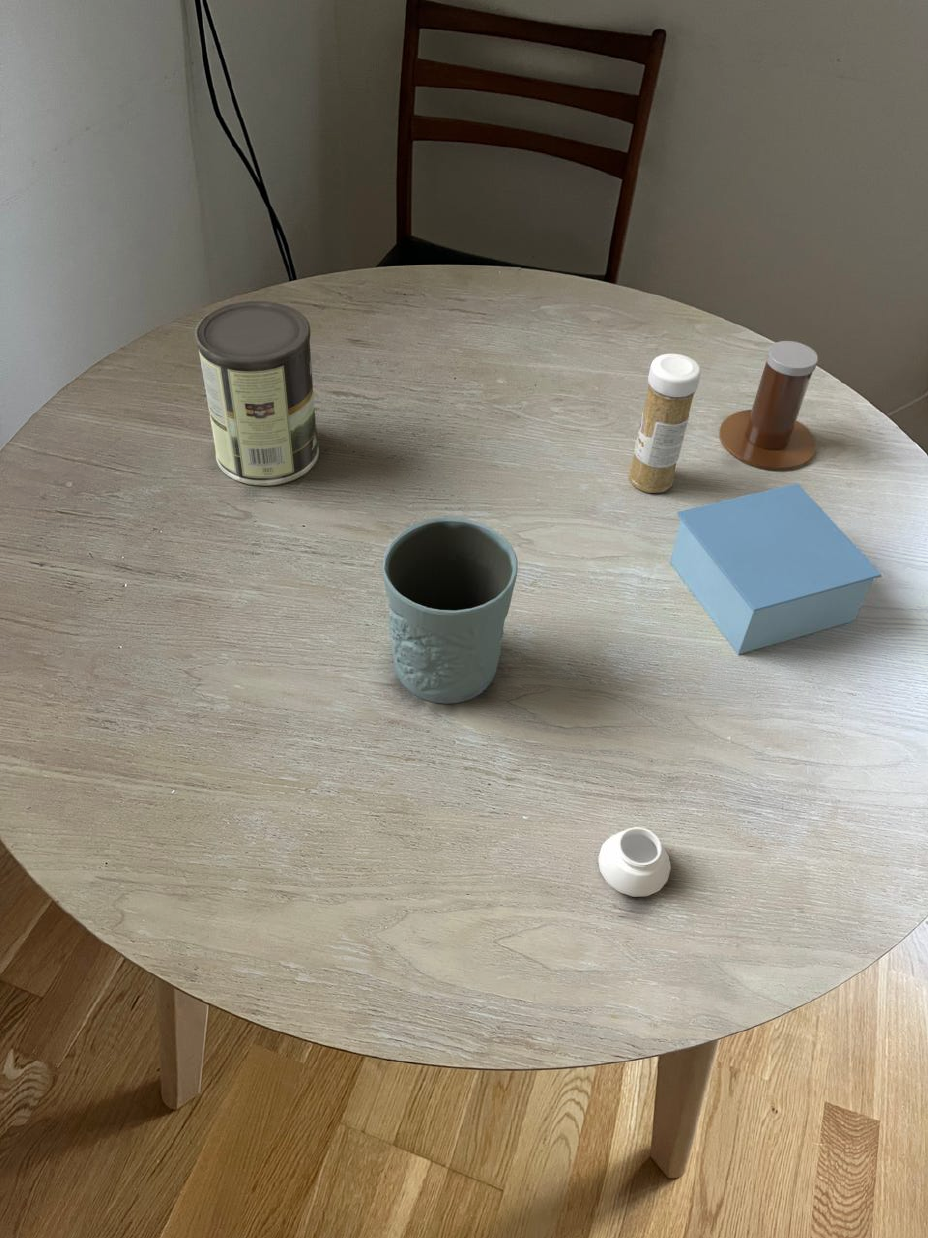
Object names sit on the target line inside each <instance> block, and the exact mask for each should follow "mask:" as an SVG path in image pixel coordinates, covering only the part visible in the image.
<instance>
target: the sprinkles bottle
mask: <svg viewBox="0 0 928 1238" xmlns="http://www.w3.org/2000/svg"><path fill="white" fill-rule="evenodd" d="M701 373H702V371H701V367H700V365H699V363H698V362H696V361H695V360H694V359H693V358H691V357H689V356H686V355H684V354H680V353H665V354H664V353H663V354H660V355H658V356H657V357H655V358H654V359H653V360H652V361H651V364H650V368H649V373H648V376H647V382H648V387H647V393H646V398H645V401H644V406H643V409H642V414H641V418H640V423H639V427H638V431H637V437H636V441H635V445H634V453H633V457H632V462H631V467H630V469H629V471H628V480H629V482H630V483H631V485H632V486H633V487H634V488H636V489H637V490H639V491H642V492H645V493H650V494H659V493H665V492H666V491H668V490H669V489H670V488H671V487H672V486H673V484H674V474H675V471H676V467H677V462H678V461H679V457H680V454H681V450H682V446H683V442H684V439H685V434H686V430H687V426H688V422H689V419H690V412H691V409H692V408H691V407H692V403H693V399H694V396H695V393H696V391H697V389H698V388H699V387H698V386H699V383H700V379H701V375H702V374H701Z"/></svg>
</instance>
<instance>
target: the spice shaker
mask: <svg viewBox="0 0 928 1238" xmlns="http://www.w3.org/2000/svg"><path fill="white" fill-rule="evenodd" d="M765 359H766V361H765V363H764V367H763V371H762V374H761V378H760V381H759V384H758V388H757V391H756V395H755V398H754V401H753V405H752V407H751V410H752V411H751V414H750V418H749V421H748V424H747V428H746V431H745V435H746V437H747V439H748V440H749V441H750V442H751V443H752V444H754V445H755V446H757V447H760V448H763V449H768V450H777V449H782V448H784V447H785V446H787V445H788V443H789V441H790V438H791V435H792V432H793V429H794V426H795V423H796V420H797V421H798V417H799V414H800V412H801V408H802V405H803V402H804V400H805V396H806V394H807V393H806V392H807V391H808V388H809V384H810V381H811V378H812V376H813V372H814V371H815V370H816V367H817V364H818V361H819V356H818V354H817V352H816V351H815V350H814V349H813V348H812V347H810V346H808V345H807V344H804V343H801V342H798V341H793V340H782V341H781V340H780V341H776V342H773V344H771V345H770V346H769V348H768V350H767V354H766V356H765Z"/></svg>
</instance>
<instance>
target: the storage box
mask: <svg viewBox="0 0 928 1238" xmlns="http://www.w3.org/2000/svg"><path fill="white" fill-rule="evenodd" d="M676 515H677V516H678V517H679V519H680V521H679V525H678V528H677V533H676V536H675V540H674V543H673V547H672V551H671V555H670V558H669V564H670V565H671V567H672V568H673V569H674V570H675V572H676V573H677V574H678V576H679V577H680V579H681V580H682V581H683V582H684V584H685V585H686V587H687V588H688V589H689V591H690V592H691V593H692V595H693V596H694V597H695V599H696V600H697V601H698V603H699V604H700V606H701V607H702V608H703V609H704V611H705V613H707V615H708V616H709V618H710V619H711V620H712V621H713V623H714V624H715V626H716V627H717V628H718V629H719V631H720V632H721V633H722V635H723V636H724V638H725V639H726V641H727V642H728V643H729V644H730V646H731V647H732V649H733V650H734V651H735V653H736V654H737V655H741V654H745V653H748V652H752V651H756V650H760V649H762V648H766V647H770V646H773V645H776V644H779V643H783V642H786V641H791V640H793V639H796V638H800V637H804V636H807V635H810V634H814V633H818V632H821V631H824V630H828V629H832V628H835V627H838V626H842V625H845V624H848V623H852V622H854V621H855V620H856V618H857V616H858V614H859V611H860V610H861V607H862V605H863V603H864V601H865V599H866V597H867V594H868V592H869V590H870V588H871V586H872V584H873V581H874V579H878V578H882V575H883V574H882V572H880V571H879V570H878V569H877V567H876V566H875V565H874V563H872V562H871V561H870V560H869V559H868V557H867V556H866V555H865V554H864V553H863V552H862V551H861V550H860V549H859V548H858V547H857V545H856V544H855V543H853V541H852V540H851V539H850V538H849V537H848V536H847V535H846V534H845V533H844V532H843V530H842V529H841V528H840V527H839V526H838V525H837V524H836V523H835V522H834V521H833V520H832V519H831V518H830V516H829V515H828V514H827V513H826V512H825V511H824V510H823V508H821V507H820V506H819V505H818V504H817V503H816V501H815V500H814V499H813V498H812V497H811V496H810V495H809V494H808V493H807V492H806V491H805V489H804V488H803V487H802V486H801V485H800V484H799V483H798V482H796V483H792V484H787V485H785V486H784V485H783V486H779V487H775V488H771V489H767V490H763V491H759V492H754V493H750V494H746V495H742V496H738V497H734V498H729V499H725V500H722V501H721V500H720V501H716V502H714V503H713V502H712V503H709V504H704V505H700V506H695V507H692V508H688V509H683V510H679V511H677V513H676Z"/></svg>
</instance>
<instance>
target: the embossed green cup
mask: <svg viewBox="0 0 928 1238" xmlns="http://www.w3.org/2000/svg"><path fill="white" fill-rule="evenodd" d="M518 571H519V567H518V557H517V554H516V551H515V549H514V548H513V545H512V544H511V543H510V542H509V541H508V540H507V538H505V537H504V536H503V534H501V533H500V532H498V531H496V530H495V529H494V528H492V527H490V526H488V525H486V524H484V523H481V522H479V521H476V520H471V519H467V518H461V517H447V516H446V517H445V516H444V517H436V518H430V519H426V520H422V521H420V522H416V523H415V524H412V525H410V526H408V527H407V528H405V529H404V530H402V531H401V532H400V533H399V534H397V535H396V536H395V537H394V538H393V539H392V540H391V541H390V543H389V544H388V545H387V547H386V549H385V551H384V554H383V559H382V574H383V582H384V588H385V594H386V597H387V606H388V607H389V608H390V609H389V612H388V624H389V633H390V637H391V650H392V661H393V668H394V672H395V674H396V676H397V678H398V680H399V681H400V683H401V685H402V686H403V687H404V688H405V689H406V690H407V691H408V692H410V693H411V694H412V695H414V696H416V697H418V698H420V699H421V700H425V701H428V702H430V703H436V704H442V705H443V704H444V705H446V704H458V703H464V702H467V701H469V700H471V699H474V698H476V697H477V696H479V695H481V694H482V693H483V692H484V691H485V690H486V689H487V688H488V687H489V686H490V684H491V683H492V682H493V680H494V677H495V675H496V672H497V667H498V663H499V658H500V654H501V651H502V643H501V641H502V639H503V637H504V626H505V621H506V618H507V616H508V613H509V611H510V607H511V604H512V603H511V601H512V598H513V593H514V588H515V584H516V580H517V578H518Z"/></svg>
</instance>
